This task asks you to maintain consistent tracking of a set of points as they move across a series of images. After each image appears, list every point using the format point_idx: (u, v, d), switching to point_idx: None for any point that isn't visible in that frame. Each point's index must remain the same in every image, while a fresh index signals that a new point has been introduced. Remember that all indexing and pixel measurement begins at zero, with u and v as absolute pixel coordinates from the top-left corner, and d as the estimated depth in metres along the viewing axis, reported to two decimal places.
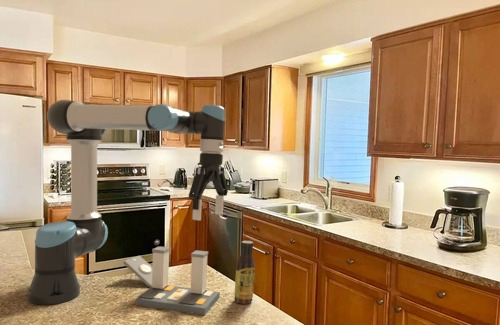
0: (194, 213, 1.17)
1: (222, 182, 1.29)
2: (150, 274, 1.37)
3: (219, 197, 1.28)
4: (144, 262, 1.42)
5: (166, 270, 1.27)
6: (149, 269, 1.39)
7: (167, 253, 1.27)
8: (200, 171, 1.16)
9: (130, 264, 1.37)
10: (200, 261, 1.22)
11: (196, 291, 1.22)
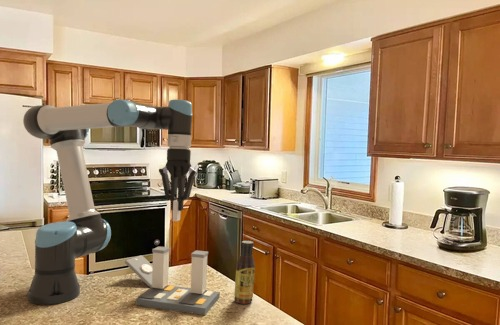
0: None
1: None
2: (151, 274, 1.38)
3: None
4: (146, 262, 1.43)
5: (166, 270, 1.27)
6: (150, 268, 1.39)
7: (167, 253, 1.27)
8: None
9: (131, 264, 1.37)
10: (200, 261, 1.22)
11: (196, 291, 1.22)
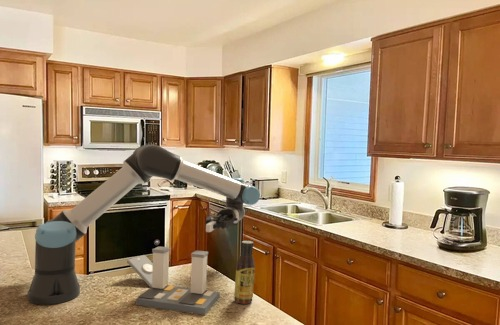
0: (211, 225, 1.32)
1: None
2: None
3: None
4: (148, 261, 1.43)
5: (166, 270, 1.27)
6: None
7: (167, 253, 1.27)
8: (235, 223, 1.44)
9: (133, 263, 1.38)
10: (200, 261, 1.22)
11: (196, 291, 1.22)
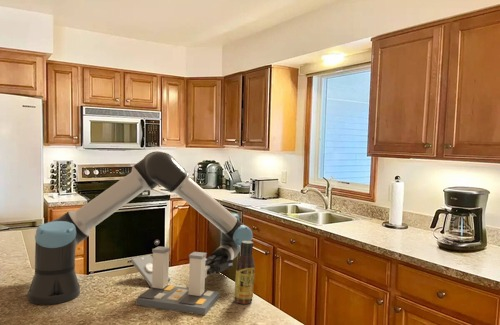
0: (205, 271, 1.26)
1: None
2: None
3: None
4: (152, 261, 1.44)
5: (166, 270, 1.27)
6: None
7: (167, 253, 1.27)
8: (230, 265, 1.38)
9: (136, 262, 1.39)
10: (198, 262, 1.20)
11: (194, 293, 1.20)
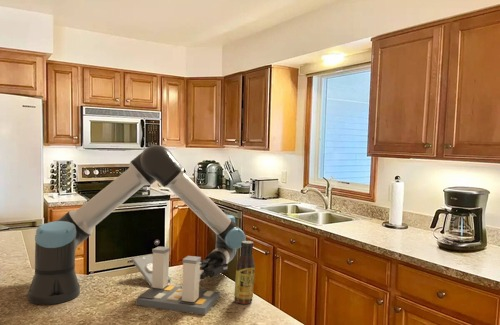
0: None
1: None
2: None
3: None
4: None
5: (166, 270, 1.27)
6: None
7: (167, 253, 1.27)
8: (225, 269, 1.33)
9: (137, 262, 1.40)
10: (191, 267, 1.15)
11: (188, 299, 1.15)
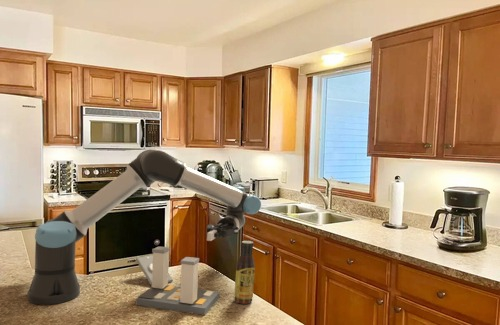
0: (212, 233, 1.33)
1: None
2: None
3: None
4: None
5: (166, 270, 1.27)
6: None
7: (167, 253, 1.27)
8: (236, 232, 1.45)
9: (141, 261, 1.41)
10: (190, 268, 1.14)
11: (186, 301, 1.14)
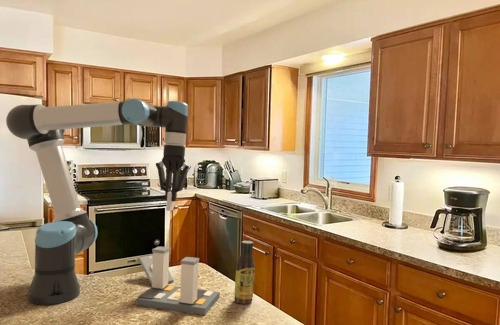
0: (171, 205, 1.33)
1: (164, 176, 1.35)
2: None
3: None
4: None
5: (166, 270, 1.27)
6: None
7: (167, 253, 1.27)
8: (188, 169, 1.33)
9: (143, 261, 1.41)
10: (190, 268, 1.14)
11: (186, 301, 1.14)
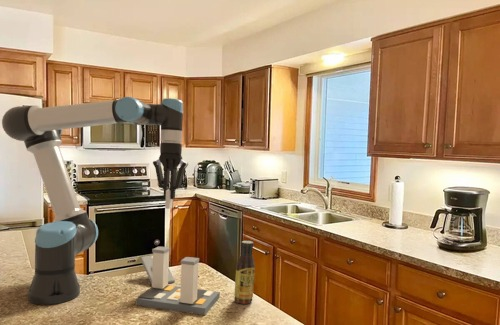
0: (170, 203, 1.33)
1: (162, 174, 1.35)
2: None
3: None
4: None
5: (166, 270, 1.27)
6: None
7: (167, 253, 1.27)
8: (186, 166, 1.33)
9: (145, 261, 1.42)
10: (190, 268, 1.14)
11: (186, 301, 1.14)
